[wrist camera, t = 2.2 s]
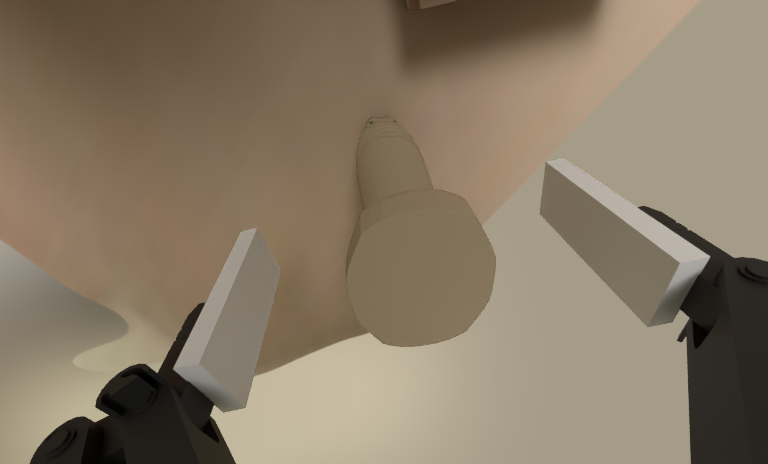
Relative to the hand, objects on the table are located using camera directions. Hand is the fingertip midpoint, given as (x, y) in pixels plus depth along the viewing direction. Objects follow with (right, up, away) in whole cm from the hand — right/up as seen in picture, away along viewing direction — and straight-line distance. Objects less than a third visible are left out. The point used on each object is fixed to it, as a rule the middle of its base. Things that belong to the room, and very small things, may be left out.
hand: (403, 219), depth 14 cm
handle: (-1, +6, +8) cm, 11 cm away
